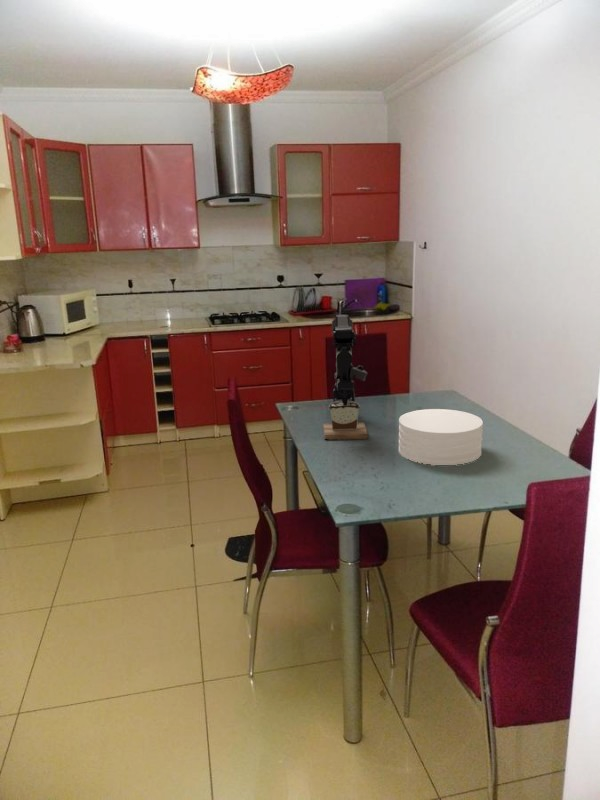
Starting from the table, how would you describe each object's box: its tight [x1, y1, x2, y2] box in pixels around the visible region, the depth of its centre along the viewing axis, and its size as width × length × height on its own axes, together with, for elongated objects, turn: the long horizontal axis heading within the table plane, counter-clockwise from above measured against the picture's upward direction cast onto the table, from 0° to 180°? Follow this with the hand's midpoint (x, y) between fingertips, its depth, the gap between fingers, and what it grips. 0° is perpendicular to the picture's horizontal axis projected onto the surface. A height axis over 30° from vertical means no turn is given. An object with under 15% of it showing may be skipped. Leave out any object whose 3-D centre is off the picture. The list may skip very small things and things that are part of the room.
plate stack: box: [398, 408, 484, 466], centre depth 205 cm, size 28×28×12 cm
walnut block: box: [322, 422, 368, 441], centre depth 228 cm, size 14×16×2 cm
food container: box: [328, 401, 361, 430], centre depth 228 cm, size 12×6×10 cm, turn 90°
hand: (344, 401), depth 225 cm, fingers open, 9 cm apart
